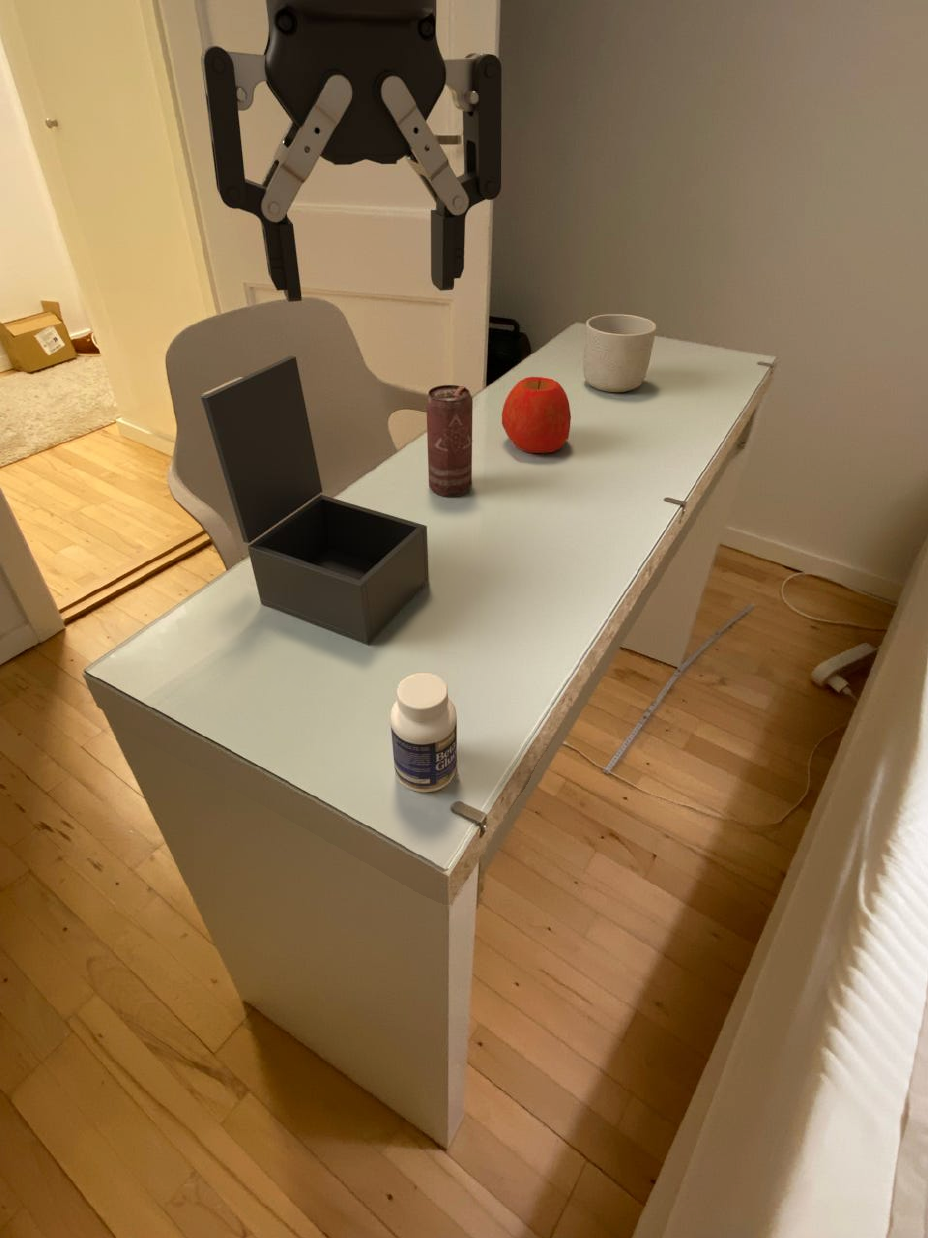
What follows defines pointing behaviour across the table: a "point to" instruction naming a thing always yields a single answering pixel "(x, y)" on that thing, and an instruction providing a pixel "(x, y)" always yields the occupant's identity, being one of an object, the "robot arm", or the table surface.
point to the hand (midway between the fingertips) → (369, 292)
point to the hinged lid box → (341, 567)
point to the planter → (617, 351)
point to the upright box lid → (264, 445)
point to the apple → (537, 415)
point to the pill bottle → (424, 733)
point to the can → (449, 440)
